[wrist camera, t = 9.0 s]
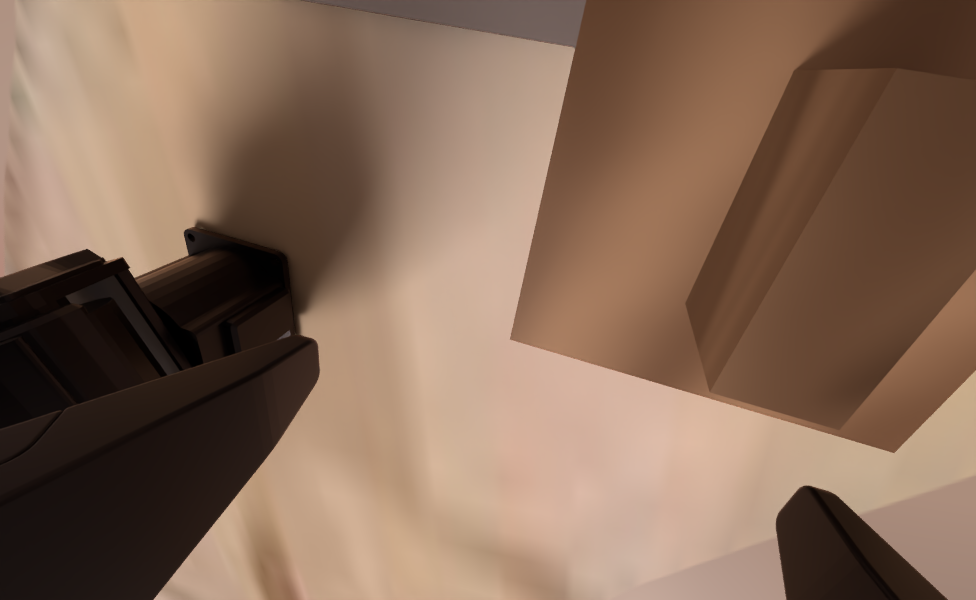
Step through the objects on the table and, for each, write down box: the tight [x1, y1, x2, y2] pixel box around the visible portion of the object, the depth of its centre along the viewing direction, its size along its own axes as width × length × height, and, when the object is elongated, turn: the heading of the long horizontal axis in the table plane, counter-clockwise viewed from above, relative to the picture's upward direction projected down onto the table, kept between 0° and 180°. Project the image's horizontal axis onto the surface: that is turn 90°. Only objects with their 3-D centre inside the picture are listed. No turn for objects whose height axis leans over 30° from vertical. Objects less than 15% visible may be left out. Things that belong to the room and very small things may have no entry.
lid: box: [510, 0, 976, 453], centre depth 9 cm, size 12×12×5 cm
